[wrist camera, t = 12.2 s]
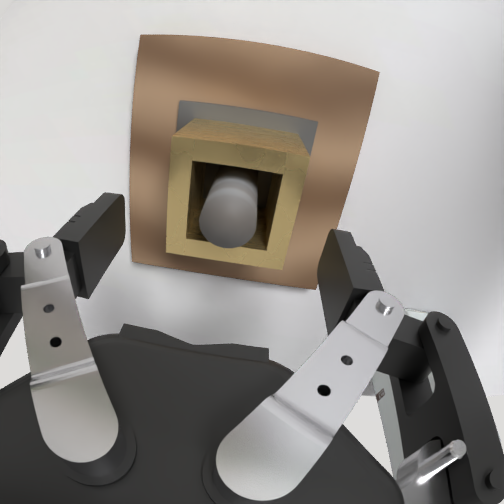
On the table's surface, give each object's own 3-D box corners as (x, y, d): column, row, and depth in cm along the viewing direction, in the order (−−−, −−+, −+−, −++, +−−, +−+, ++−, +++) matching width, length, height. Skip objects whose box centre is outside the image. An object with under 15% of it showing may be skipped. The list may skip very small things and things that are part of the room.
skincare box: (404, 306, 26) (459, 454, 14) (449, 313, 27) (506, 440, 14) (364, 363, 31) (391, 494, 18) (408, 366, 31) (441, 483, 19)
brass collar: (194, 118, 17) (171, 136, 13) (298, 134, 17) (310, 157, 13) (186, 210, 20) (165, 252, 16) (278, 224, 21) (282, 270, 16)
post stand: (147, 36, 15) (82, 25, 9) (373, 71, 16) (436, 79, 9) (136, 253, 24) (98, 325, 17) (313, 279, 25) (328, 360, 18)
